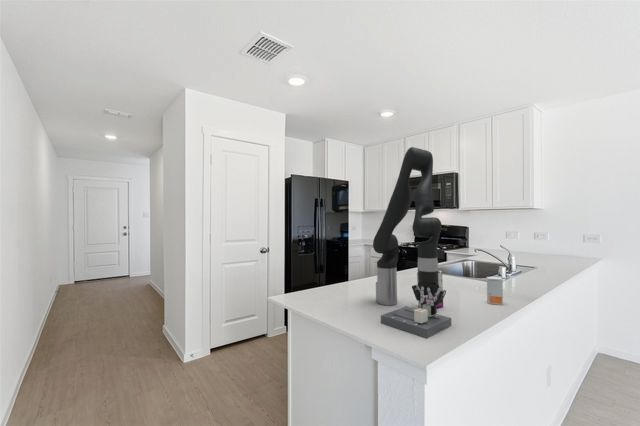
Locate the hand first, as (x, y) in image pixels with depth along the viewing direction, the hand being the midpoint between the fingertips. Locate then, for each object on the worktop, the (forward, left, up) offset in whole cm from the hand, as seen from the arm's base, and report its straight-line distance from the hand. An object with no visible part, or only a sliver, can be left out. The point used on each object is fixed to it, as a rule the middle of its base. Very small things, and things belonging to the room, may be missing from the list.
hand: (428, 313), depth 116 cm
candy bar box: (-10, +19, -4) cm, 22 cm away
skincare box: (+7, +46, -4) cm, 47 cm away
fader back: (0, 0, -1) cm, 1 cm away
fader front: (+2, -8, -1) cm, 8 cm away
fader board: (-3, -4, -4) cm, 7 cm away
